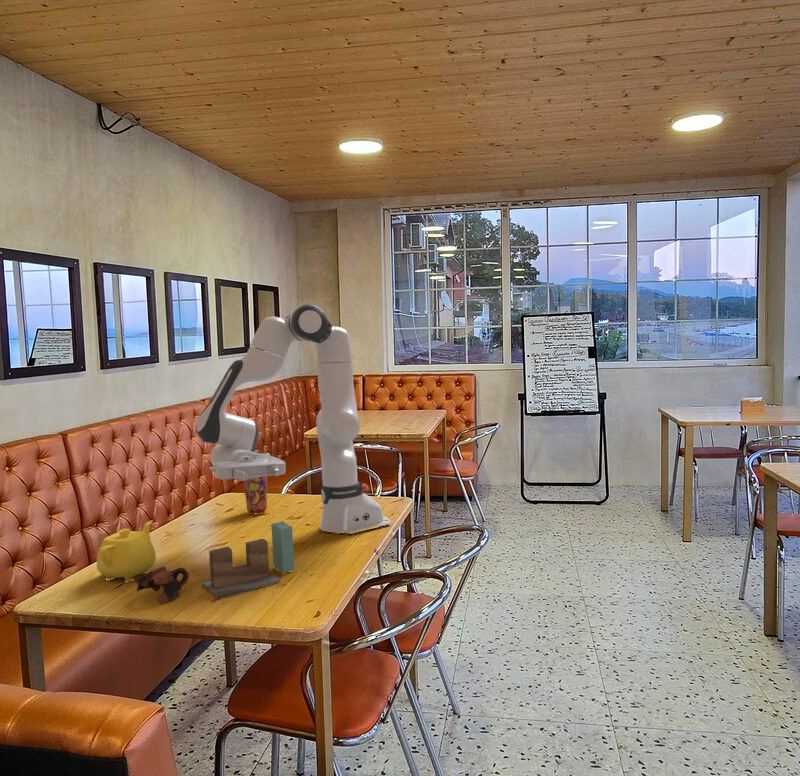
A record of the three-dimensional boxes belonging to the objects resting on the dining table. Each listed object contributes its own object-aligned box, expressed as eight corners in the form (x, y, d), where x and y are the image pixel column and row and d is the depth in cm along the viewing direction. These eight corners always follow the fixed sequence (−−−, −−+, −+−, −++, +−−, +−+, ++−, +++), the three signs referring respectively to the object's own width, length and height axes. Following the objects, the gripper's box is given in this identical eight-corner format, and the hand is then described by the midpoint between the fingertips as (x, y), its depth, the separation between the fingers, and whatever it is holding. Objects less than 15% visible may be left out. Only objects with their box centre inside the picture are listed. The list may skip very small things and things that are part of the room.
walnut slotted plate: (201, 584, 164) (199, 547, 163) (261, 569, 172) (259, 533, 172) (217, 599, 154) (215, 559, 153) (280, 582, 163) (278, 544, 162)
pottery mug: (148, 611, 149) (133, 579, 151) (145, 615, 157) (131, 584, 159) (197, 585, 156) (183, 554, 157) (192, 591, 164) (178, 561, 165)
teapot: (174, 562, 181) (171, 519, 180) (124, 590, 162) (120, 541, 161) (134, 559, 185) (131, 517, 184) (80, 586, 165) (76, 539, 164)
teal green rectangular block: (273, 568, 173) (271, 523, 172) (285, 565, 175) (282, 521, 174) (283, 574, 168) (280, 528, 167) (294, 571, 170) (292, 526, 169)
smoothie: (246, 510, 234) (243, 455, 233) (270, 508, 235) (266, 453, 233) (243, 516, 226) (240, 459, 224) (268, 514, 227) (264, 457, 225)
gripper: (207, 456, 184) (226, 465, 173) (273, 452, 197) (294, 460, 186) (206, 478, 185) (225, 489, 174) (272, 473, 197) (293, 482, 186)
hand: (262, 474), depth 180 cm, fingers open, 8 cm apart
